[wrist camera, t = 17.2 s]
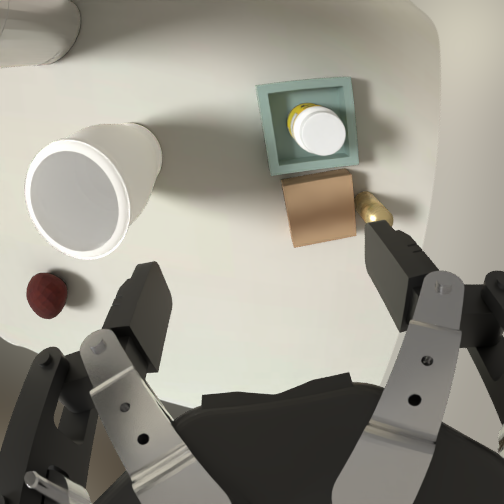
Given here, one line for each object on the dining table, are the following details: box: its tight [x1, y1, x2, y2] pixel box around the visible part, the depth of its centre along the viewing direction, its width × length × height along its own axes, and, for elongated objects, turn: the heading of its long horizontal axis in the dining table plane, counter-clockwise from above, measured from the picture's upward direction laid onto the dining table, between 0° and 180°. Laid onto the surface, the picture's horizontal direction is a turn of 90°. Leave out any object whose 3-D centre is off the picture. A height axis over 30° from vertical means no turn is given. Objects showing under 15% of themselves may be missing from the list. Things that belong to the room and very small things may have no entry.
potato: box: [26, 273, 67, 319], centre depth 41 cm, size 7×8×6 cm
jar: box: [24, 123, 162, 260], centre depth 28 cm, size 11×10×15 cm
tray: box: [255, 77, 359, 176], centre depth 32 cm, size 10×10×3 cm
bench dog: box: [354, 191, 393, 227], centre depth 36 cm, size 3×3×6 cm
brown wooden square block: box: [281, 168, 356, 248], centre depth 37 cm, size 8×8×3 cm
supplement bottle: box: [287, 103, 346, 156], centre depth 29 cm, size 5×5×8 cm
